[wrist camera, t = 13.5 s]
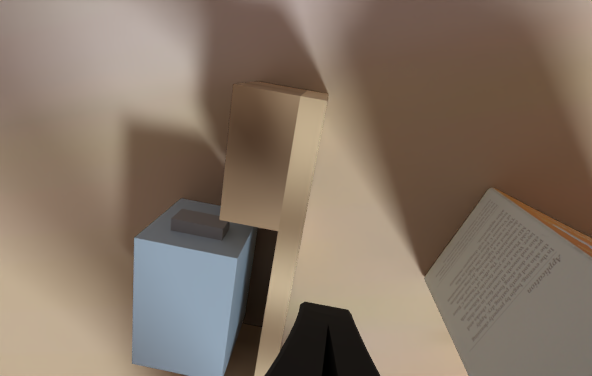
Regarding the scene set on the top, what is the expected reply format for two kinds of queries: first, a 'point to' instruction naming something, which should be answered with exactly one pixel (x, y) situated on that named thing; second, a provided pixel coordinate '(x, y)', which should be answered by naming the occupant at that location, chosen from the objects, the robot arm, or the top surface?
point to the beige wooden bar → (270, 196)
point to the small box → (516, 292)
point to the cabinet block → (190, 289)
